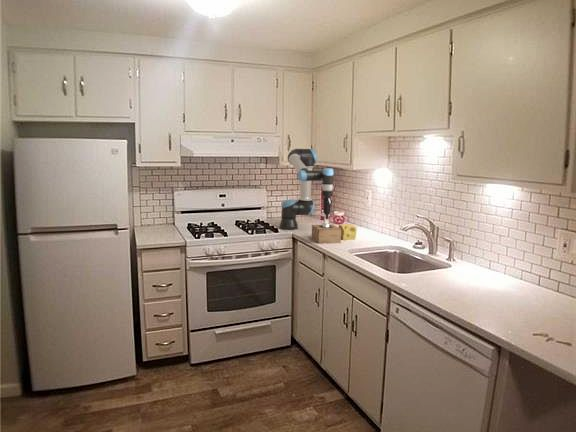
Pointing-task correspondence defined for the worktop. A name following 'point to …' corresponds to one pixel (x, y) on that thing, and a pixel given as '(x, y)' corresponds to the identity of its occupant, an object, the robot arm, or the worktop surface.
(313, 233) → the socket block
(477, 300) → the worktop surface
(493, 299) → the worktop surface
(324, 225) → the peg
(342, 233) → the cheese
